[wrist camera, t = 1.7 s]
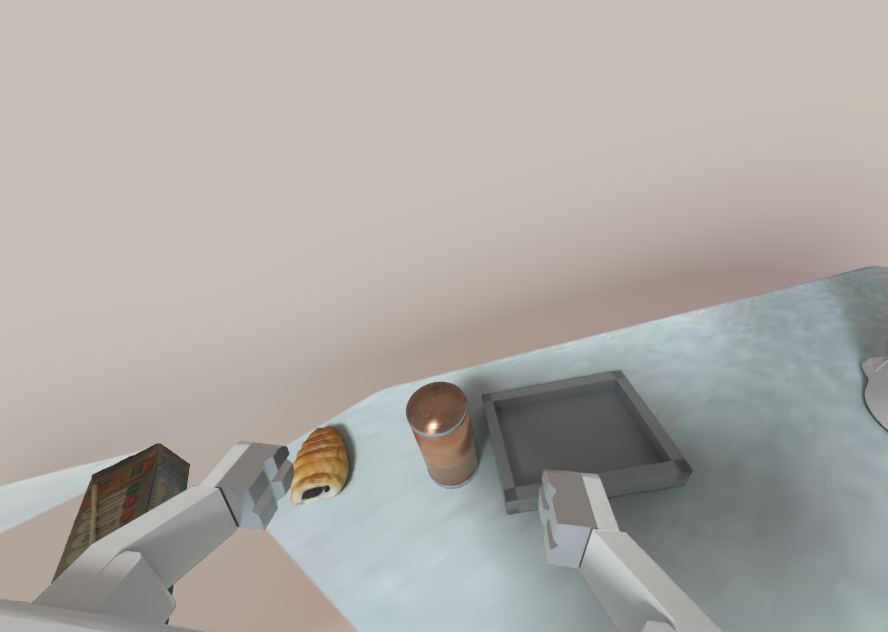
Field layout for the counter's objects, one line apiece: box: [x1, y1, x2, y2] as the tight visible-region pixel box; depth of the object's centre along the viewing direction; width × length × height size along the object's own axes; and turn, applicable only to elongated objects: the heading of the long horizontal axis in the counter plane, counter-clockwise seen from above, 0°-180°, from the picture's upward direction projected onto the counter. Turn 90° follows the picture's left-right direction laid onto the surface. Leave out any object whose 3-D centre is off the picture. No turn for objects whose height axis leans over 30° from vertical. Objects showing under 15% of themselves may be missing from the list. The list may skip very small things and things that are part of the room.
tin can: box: [406, 382, 478, 489], centre depth 35 cm, size 6×6×11 cm
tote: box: [482, 370, 693, 514], centre depth 37 cm, size 18×13×3 cm
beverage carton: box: [51, 444, 190, 625], centre depth 34 cm, size 8×19×7 cm, turn 28°
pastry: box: [290, 427, 349, 505], centre depth 40 cm, size 9×7×4 cm
